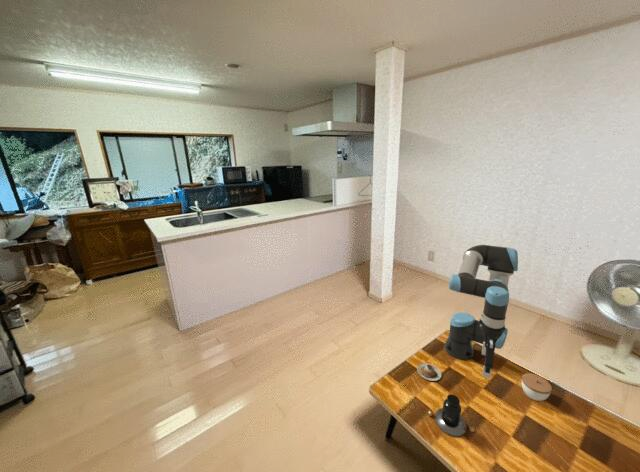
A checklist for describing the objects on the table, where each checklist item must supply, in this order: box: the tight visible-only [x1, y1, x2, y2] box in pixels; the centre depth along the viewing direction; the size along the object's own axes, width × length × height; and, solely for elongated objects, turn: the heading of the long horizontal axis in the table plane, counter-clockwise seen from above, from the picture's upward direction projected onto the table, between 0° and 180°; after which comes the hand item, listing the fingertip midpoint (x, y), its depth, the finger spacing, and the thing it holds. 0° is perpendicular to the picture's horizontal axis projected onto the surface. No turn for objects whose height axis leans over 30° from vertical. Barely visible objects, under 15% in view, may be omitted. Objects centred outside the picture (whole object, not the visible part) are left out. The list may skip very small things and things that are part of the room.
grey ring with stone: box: [416, 362, 443, 382], centre depth 137 cm, size 12×12×5 cm
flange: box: [427, 407, 475, 438], centre depth 111 cm, size 12×18×2 cm, turn 61°
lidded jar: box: [521, 372, 553, 402], centre depth 121 cm, size 11×11×9 cm
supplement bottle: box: [442, 394, 462, 428], centre depth 109 cm, size 7×7×12 cm
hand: (485, 365), depth 111 cm, fingers open, 13 cm apart
